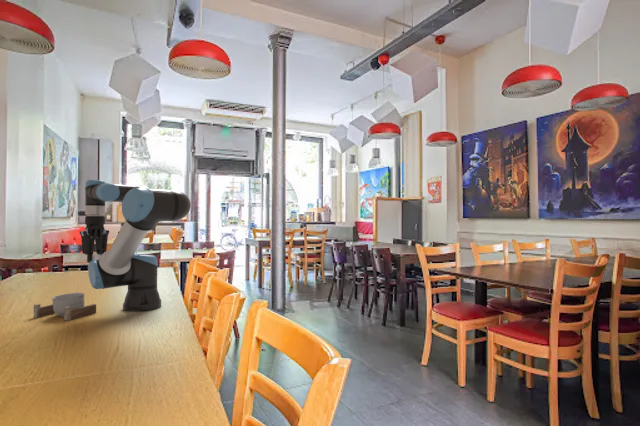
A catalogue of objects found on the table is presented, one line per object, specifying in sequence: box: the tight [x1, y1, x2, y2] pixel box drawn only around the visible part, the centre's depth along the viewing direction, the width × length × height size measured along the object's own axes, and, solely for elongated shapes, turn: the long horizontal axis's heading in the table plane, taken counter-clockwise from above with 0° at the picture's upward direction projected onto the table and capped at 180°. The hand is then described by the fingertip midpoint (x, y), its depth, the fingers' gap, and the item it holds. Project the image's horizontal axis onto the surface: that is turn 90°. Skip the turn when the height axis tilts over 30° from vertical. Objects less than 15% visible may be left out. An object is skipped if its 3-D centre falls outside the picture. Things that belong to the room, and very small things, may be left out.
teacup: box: [51, 291, 85, 318], centre depth 152 cm, size 14×11×8 cm
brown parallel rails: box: [33, 303, 97, 322], centre depth 150 cm, size 17×13×5 cm
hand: (94, 269), depth 163 cm, fingers open, 3 cm apart
